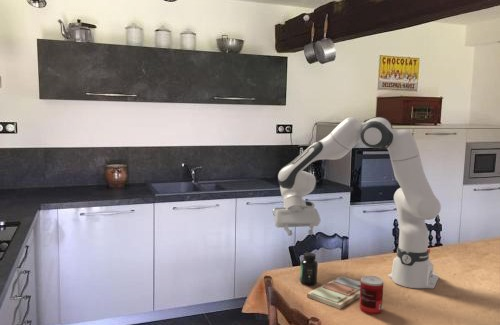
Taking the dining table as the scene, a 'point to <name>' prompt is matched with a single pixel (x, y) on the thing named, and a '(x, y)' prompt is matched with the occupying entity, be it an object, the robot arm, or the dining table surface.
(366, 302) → the canned food
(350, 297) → the tile board
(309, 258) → the supplement bottle
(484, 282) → the dining table surface
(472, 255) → the dining table surface
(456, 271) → the dining table surface
